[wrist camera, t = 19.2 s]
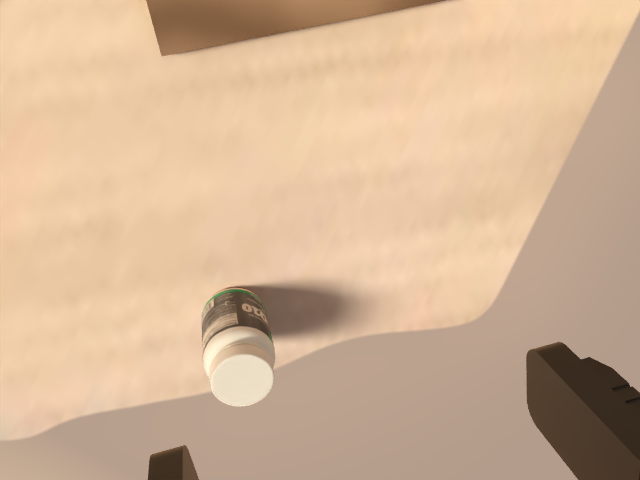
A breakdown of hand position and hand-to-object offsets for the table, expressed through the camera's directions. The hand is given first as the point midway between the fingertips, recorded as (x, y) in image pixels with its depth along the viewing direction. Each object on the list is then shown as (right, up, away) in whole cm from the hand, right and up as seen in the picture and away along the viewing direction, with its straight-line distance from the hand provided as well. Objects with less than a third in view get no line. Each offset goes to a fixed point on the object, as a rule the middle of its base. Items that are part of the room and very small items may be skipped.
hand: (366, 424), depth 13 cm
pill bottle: (-8, -1, +31) cm, 31 cm away
